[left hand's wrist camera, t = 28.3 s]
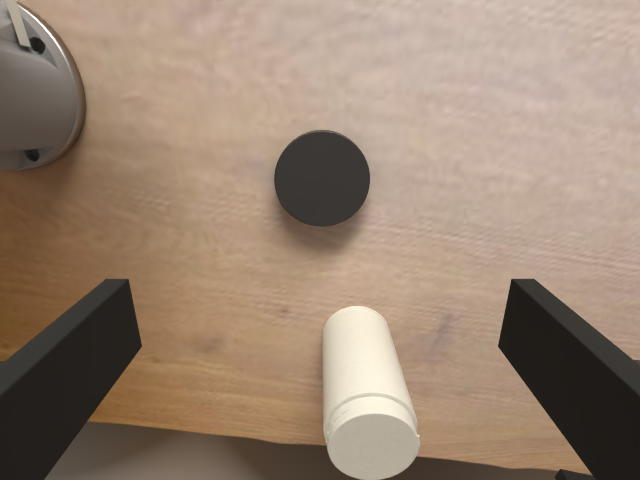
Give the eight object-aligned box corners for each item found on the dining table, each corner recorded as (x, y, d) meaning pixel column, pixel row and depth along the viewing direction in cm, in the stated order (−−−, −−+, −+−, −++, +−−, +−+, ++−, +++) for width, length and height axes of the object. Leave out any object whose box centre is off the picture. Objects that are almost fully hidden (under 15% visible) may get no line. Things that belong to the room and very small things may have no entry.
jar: (327, 366, 46) (331, 488, 31) (317, 310, 43) (316, 416, 28) (392, 357, 45) (426, 477, 31) (385, 301, 43) (419, 403, 28)
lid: (330, 109, 35) (331, 109, 33) (385, 184, 38) (388, 189, 36) (258, 169, 37) (254, 172, 35) (314, 236, 40) (314, 243, 38)
